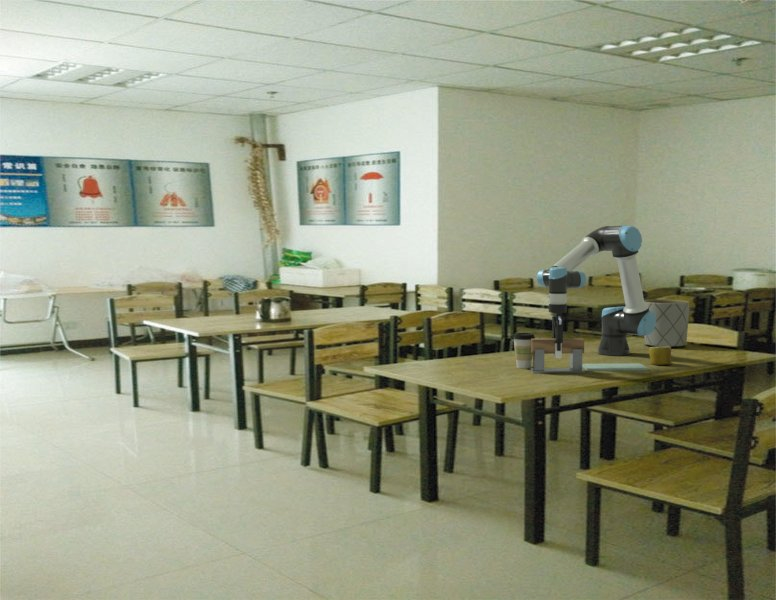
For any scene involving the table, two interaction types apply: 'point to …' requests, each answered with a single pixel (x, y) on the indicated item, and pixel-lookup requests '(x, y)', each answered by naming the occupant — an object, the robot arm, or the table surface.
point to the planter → (668, 322)
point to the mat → (614, 367)
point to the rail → (549, 345)
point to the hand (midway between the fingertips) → (557, 357)
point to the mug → (660, 355)
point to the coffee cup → (523, 349)
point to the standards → (574, 368)
